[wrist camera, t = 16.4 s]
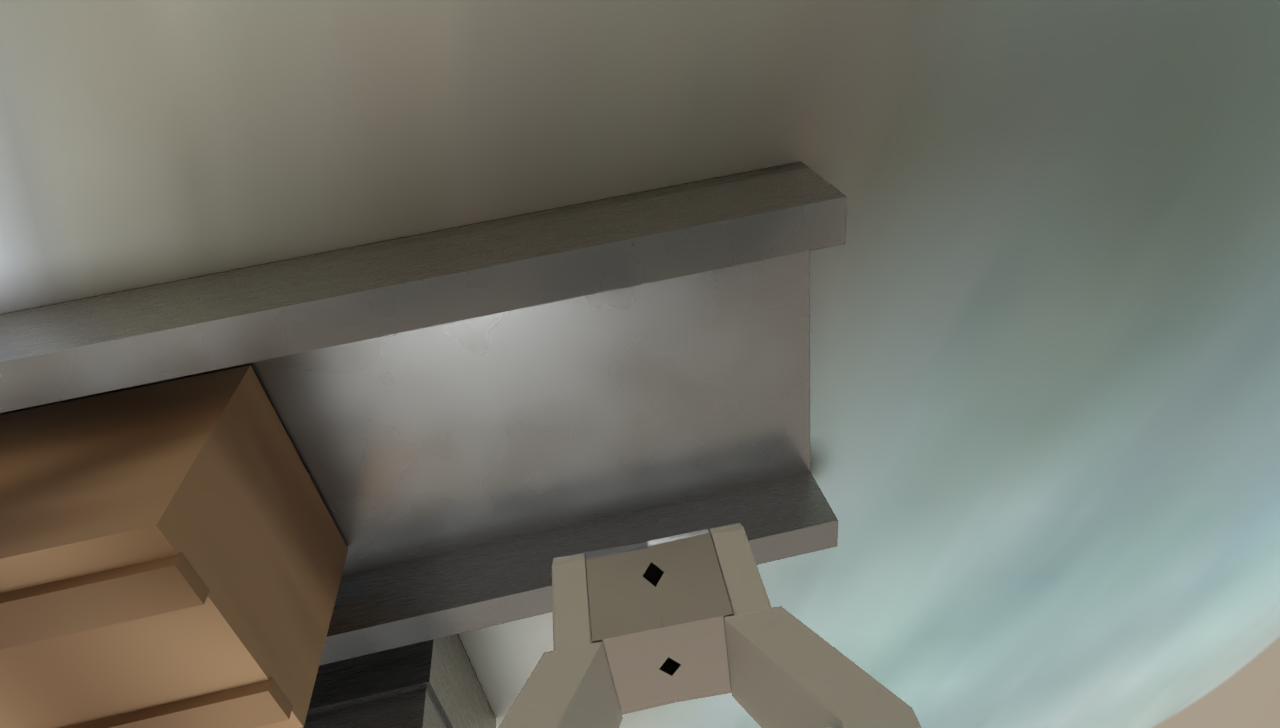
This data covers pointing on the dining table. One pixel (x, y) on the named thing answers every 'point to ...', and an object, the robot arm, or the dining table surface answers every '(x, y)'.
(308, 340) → the bay
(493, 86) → the dining table surface
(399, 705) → the square tube sleeve
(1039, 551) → the dining table surface
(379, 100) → the dining table surface
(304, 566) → the crate
